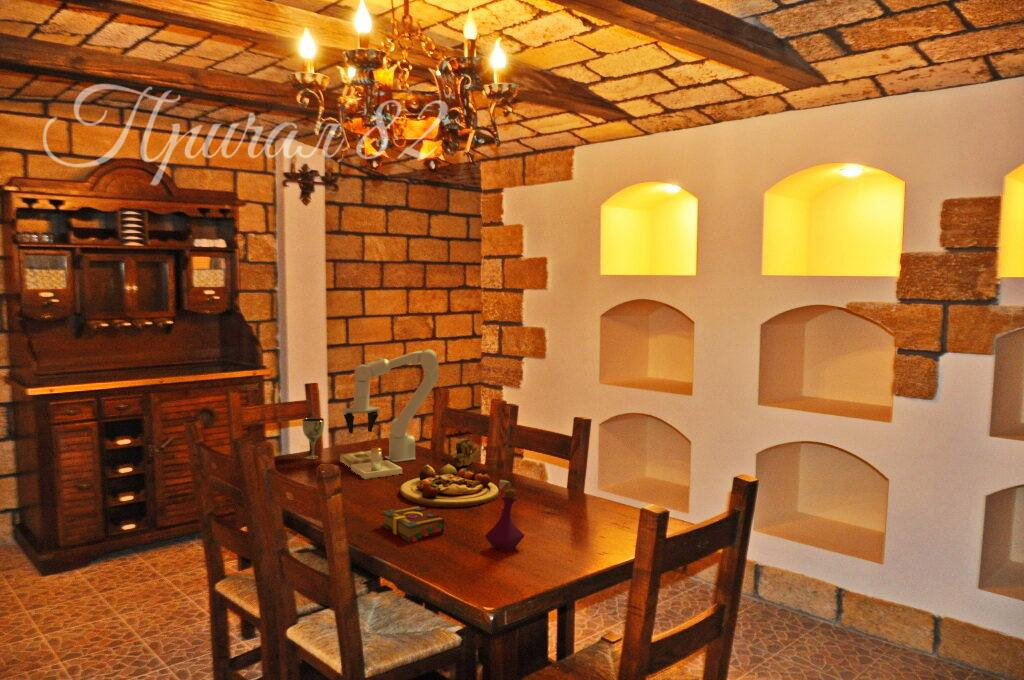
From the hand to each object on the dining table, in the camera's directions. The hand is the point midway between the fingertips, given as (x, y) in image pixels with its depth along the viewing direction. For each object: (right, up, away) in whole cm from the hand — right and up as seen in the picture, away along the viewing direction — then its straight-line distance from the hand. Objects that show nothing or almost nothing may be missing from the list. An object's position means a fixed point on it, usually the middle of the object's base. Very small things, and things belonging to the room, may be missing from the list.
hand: (360, 432), depth 278 cm
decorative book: (+30, -18, -76) cm, 84 cm away
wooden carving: (+40, -12, -4) cm, 42 cm away
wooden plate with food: (+37, -16, -40) cm, 57 cm away
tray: (+9, -12, -18) cm, 23 cm away
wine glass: (-18, -10, 0) cm, 21 cm away
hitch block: (+2, -11, -6) cm, 13 cm away
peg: (+9, -12, -18) cm, 23 cm away
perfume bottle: (+56, -19, -87) cm, 105 cm away
